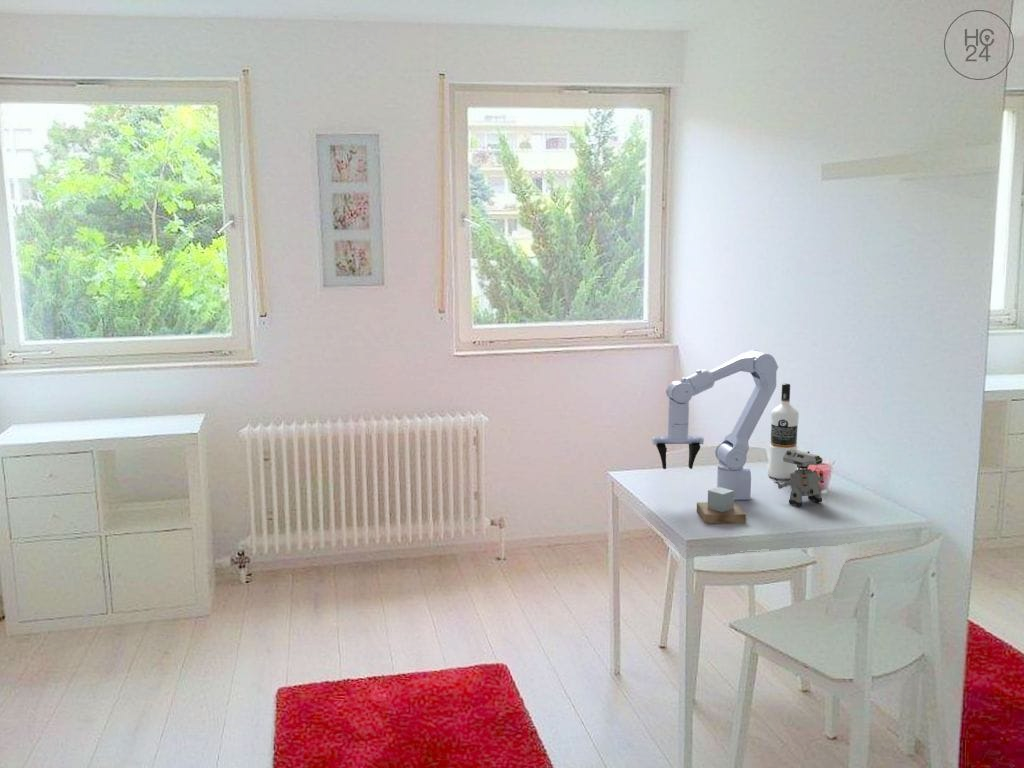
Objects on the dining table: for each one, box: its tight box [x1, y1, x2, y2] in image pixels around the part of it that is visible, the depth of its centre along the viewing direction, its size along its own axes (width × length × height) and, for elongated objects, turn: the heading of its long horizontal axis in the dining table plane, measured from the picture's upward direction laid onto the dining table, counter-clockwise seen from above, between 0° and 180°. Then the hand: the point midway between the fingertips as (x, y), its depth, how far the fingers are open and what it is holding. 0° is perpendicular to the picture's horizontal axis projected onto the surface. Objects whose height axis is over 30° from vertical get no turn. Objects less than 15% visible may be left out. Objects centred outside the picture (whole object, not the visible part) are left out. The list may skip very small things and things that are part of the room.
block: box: [707, 487, 735, 512], centre depth 254 cm, size 5×5×5 cm
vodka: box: [766, 383, 800, 480], centre depth 291 cm, size 9×9×30 cm
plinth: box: [696, 501, 747, 525], centre depth 254 cm, size 11×11×2 cm
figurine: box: [774, 449, 825, 508], centre depth 266 cm, size 9×12×15 cm
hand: (677, 468), depth 269 cm, fingers open, 7 cm apart
